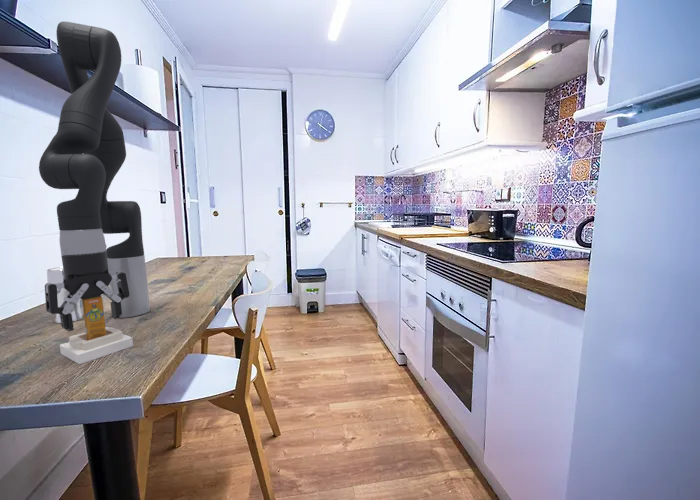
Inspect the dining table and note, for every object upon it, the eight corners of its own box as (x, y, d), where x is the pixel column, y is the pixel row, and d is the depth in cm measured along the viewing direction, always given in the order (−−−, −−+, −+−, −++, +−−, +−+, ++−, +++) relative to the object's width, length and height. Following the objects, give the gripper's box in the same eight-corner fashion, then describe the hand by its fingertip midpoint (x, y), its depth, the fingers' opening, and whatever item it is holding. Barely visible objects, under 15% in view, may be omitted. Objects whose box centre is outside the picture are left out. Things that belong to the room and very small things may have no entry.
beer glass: (91, 317, 96) (84, 266, 95) (63, 325, 90) (56, 271, 88) (75, 315, 99) (68, 265, 97) (47, 322, 92) (39, 270, 90)
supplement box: (88, 345, 70) (82, 299, 69) (86, 341, 73) (80, 297, 72) (107, 340, 73) (102, 296, 71) (105, 336, 75) (99, 293, 74)
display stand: (60, 353, 72) (58, 338, 71) (113, 337, 80) (111, 323, 79) (79, 364, 66) (77, 347, 66) (133, 346, 75) (131, 331, 74)
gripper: (114, 246, 78) (122, 312, 80) (33, 254, 66) (45, 331, 68) (129, 247, 74) (137, 317, 76) (46, 256, 62) (58, 338, 64)
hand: (93, 324), depth 72 cm, fingers open, 8 cm apart
